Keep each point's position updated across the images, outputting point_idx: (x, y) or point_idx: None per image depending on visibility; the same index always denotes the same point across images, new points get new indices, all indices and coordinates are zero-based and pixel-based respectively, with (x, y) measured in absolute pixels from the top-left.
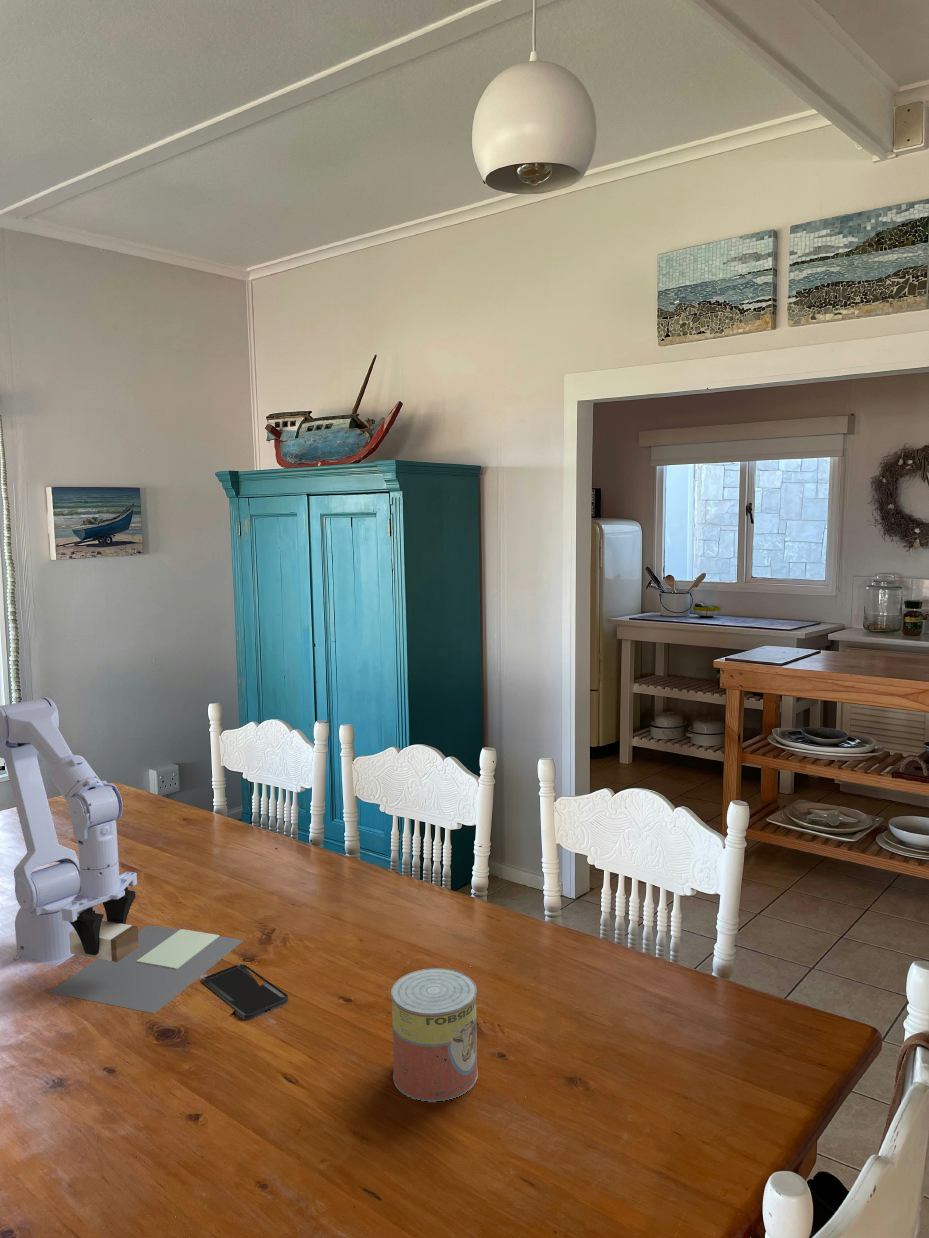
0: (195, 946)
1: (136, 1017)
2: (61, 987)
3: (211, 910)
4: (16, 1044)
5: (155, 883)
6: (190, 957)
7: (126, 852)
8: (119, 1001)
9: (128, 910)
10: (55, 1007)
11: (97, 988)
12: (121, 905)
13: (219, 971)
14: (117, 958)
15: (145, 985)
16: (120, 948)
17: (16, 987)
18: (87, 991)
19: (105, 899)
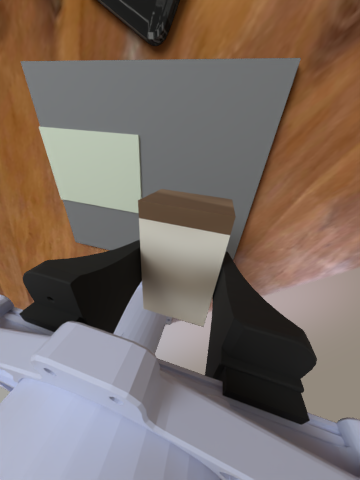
0: (78, 146)
1: (292, 111)
2: None
3: (15, 190)
4: (353, 263)
5: (28, 270)
6: (104, 132)
7: (20, 305)
8: (248, 174)
9: (103, 254)
10: (253, 258)
11: None
12: (106, 280)
13: (117, 13)
14: (230, 201)
15: (195, 159)
16: (216, 204)
17: None
18: None
19: (200, 416)
